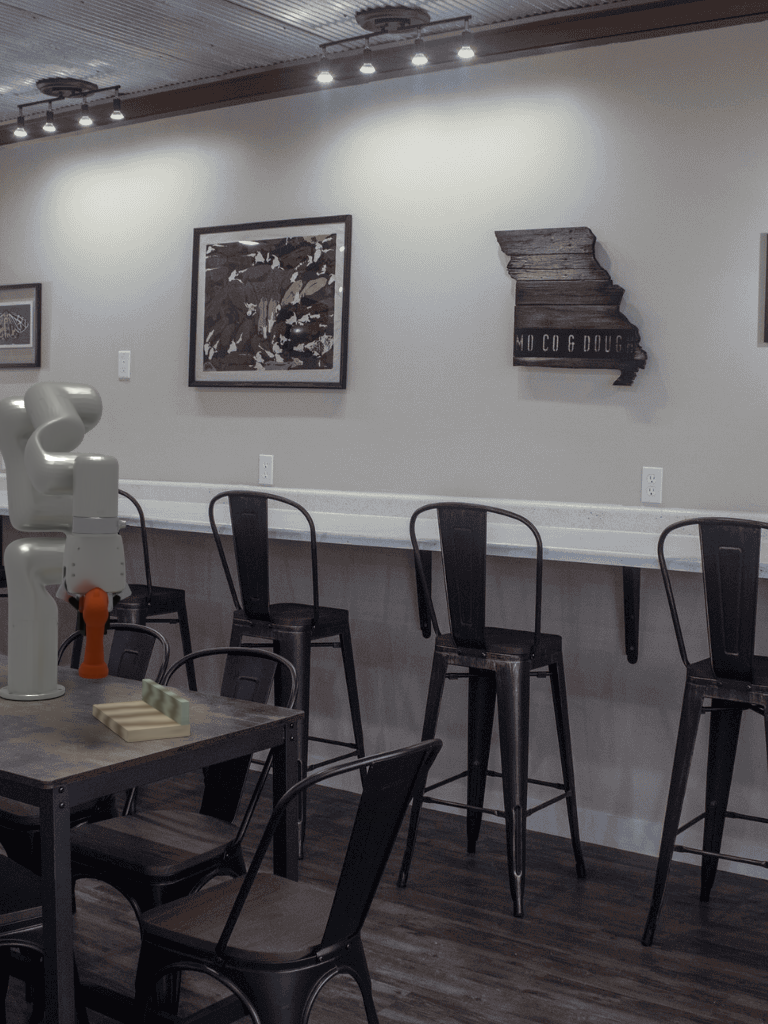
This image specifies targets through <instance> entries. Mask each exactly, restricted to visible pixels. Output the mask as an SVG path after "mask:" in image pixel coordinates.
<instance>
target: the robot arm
mask: <svg viewBox="0 0 768 1024" xmlns="http://www.w3.org/2000/svg"><path fill="white" fill-rule="evenodd" d="M103 409H104V408H103V400H102V397H101V395H100V393H99V392H98V390H97V389H96V387H94V386H92V385H91V384H88V383H81V382H80V383H79V382H66V381H65V382H63V381H40V382H37V383H34V384H32V385H31V386H30V387H28V389H27V390H26V391H25V393H24V395H16V396H15V395H14V396H8V397H5V398H2V399H0V454H1V456H2V459H3V463H4V466H5V476H6V478H5V479H6V490H7V491H6V492H7V493H6V494H7V505H8V506H7V508H8V516H9V521H10V524H11V526H12V528H14V529H15V530H17V531H19V532H25V533H26V532H27V533H50V532H51V533H52V532H53V533H55V532H58V533H60V532H61V533H63V534H65V537H64V536H63V537H51V536H49V537H47V536H45V537H38V536H37V537H24V538H19V539H16V540H13V541H12V542H10V543H9V544H8V545H7V546H6V547H5V550H4V553H3V564H4V571H5V578H6V585H7V597H8V598H7V601H8V602H7V604H8V607H7V609H8V610H7V611H8V614H7V615H8V617H7V619H8V620H7V621H8V622H7V623H8V624H7V625H8V628H7V630H8V632H7V685H6V686H3V687H1V688H0V697H1V698H2V699H6V700H13V701H39V700H41V701H42V700H48V699H55V698H58V697H61V696H63V695H64V694H66V687H65V686H64V685H62V684H59V683H58V661H59V660H58V659H59V658H58V647H59V643H58V642H59V608H58V604H57V602H56V600H55V599H54V597H52V595H51V594H50V593H49V591H48V590H47V589H46V586H52V585H59V587H58V589H57V590H56V592H55V597H56V598H58V599H59V600H62V601H64V602H66V603H69V604H70V605H71V606H72V607H73V609H75V610H76V611H77V612H76V613H77V616H76V617H77V618H76V619H77V620H76V621H77V622H76V628H77V631H79V633H80V635H82V636H83V637H86V623H85V621H84V619H83V610H84V596H85V594H86V593H87V592H89V591H90V590H91V589H93V588H95V587H99V588H101V589H103V590H104V591H105V592H106V593H107V594H108V599H109V604H108V619H107V621H106V623H105V627H104V636H107V635H108V630H110V628H111V612H112V611H113V610H114V609H113V608H115V606H117V605H118V604H119V602H121V601H122V600H125V599H126V598H129V597H130V596H132V591H131V588H130V586H129V584H128V582H127V578H126V577H127V575H126V574H127V573H126V572H127V571H126V559H125V550H124V542H123V538H122V535H121V534H118V533H119V532H120V530H121V529H126V527H127V521H126V520H122V519H120V517H119V480H120V479H119V475H120V472H119V470H120V468H119V467H120V465H119V461H118V459H117V458H116V457H115V456H112V455H106V454H103V453H102V454H101V453H94V452H93V453H92V452H91V453H90V452H89V453H87V452H83V453H82V452H72V451H74V450H76V449H77V448H78V447H79V446H80V445H81V444H82V442H83V441H84V437H85V435H86V434H87V433H89V432H90V431H91V430H93V429H94V428H96V426H98V424H99V423H100V420H101V419H102V415H103ZM68 592H69V593H71V594H72V595H75V596H72V595H70V594H68Z"/></svg>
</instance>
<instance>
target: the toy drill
mask: <svg viewBox="0 0 768 1024" xmlns="http://www.w3.org/2000/svg"><path fill="white" fill-rule="evenodd" d="M108 604H109V599H108V594H107V593H106V592H105V591H104V590H103V589H101V588H99V587H95V588H93V589H91V590H90V591H89V592H87V593H86V594H85V596H84V610H83V619H84V621H85V623H86V636H85V646H84V647H85V648H84V649H85V650H84V656H83V660H82V662H81V663H80V666H79V668H78V675H79V676H78V677H80V678H82V679H88V680H98V679H99V680H100V679H105V678H107V677H108V675H109V667H108V664H107V662H106V661H105V651H104V636H105V635H104V627H105V623H106V621H107V619H108Z"/></svg>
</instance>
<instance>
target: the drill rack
mask: <svg viewBox="0 0 768 1024" xmlns="http://www.w3.org/2000/svg"><path fill="white" fill-rule="evenodd" d="M141 682H142V683H141V700H140V699H139V700H131V701H119V702H107V703H98V704H97V703H96V704H95V703H94V704H92V716H93V717H94V718H95V719H96V720H98V721H99V722H101V723H102V724H103V725H104V726H106V728H107V727H108V728H109V729H110V730H111V731H112V732H114V733H115V734H117V736H118V737H120V738H121V739H123V740H124V741H125V742H126V743H136V742H146V741H154V740H165V739H174V738H184V737H190V736H191V724H190V701H189V700H188V699H185V698H183V697H182V696H180V695H179V694H177V693H175V692H173V691H172V690H170V689H168V688H166V687H165V686H163V685H162V684H159V683H157V682H155V681H154V680H152V679H150V678H144V679H142V680H141Z"/></svg>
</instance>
